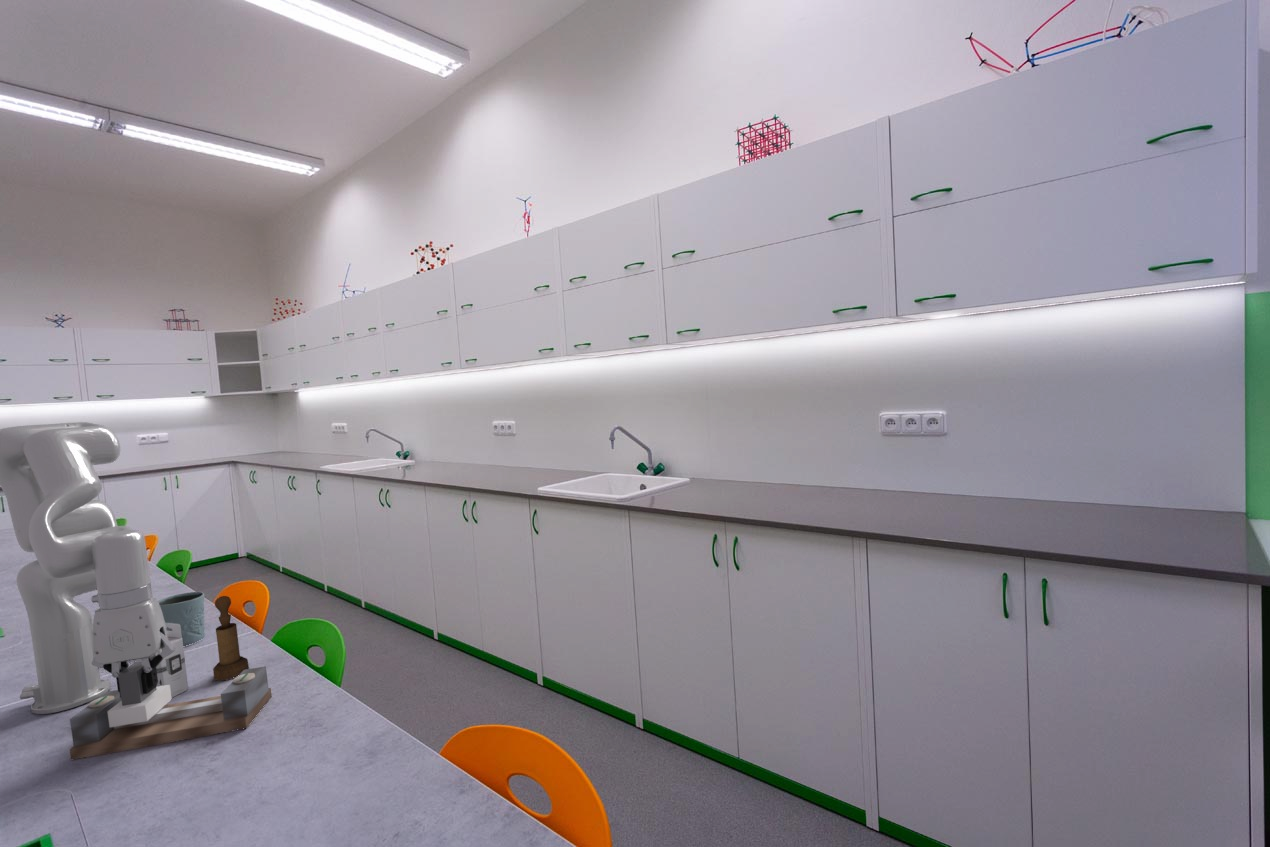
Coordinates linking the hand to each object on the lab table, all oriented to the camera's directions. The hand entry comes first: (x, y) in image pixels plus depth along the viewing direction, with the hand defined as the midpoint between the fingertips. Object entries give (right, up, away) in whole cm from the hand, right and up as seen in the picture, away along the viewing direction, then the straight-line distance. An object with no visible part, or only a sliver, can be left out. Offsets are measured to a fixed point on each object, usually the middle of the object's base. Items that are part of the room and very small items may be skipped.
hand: (139, 691), depth 111 cm
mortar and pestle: (+2, -7, +23) cm, 24 cm away
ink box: (-8, -8, +16) cm, 20 cm away
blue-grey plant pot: (-26, -8, +45) cm, 52 cm away
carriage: (0, -4, 0) cm, 4 cm away
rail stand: (+6, -7, +2) cm, 10 cm away
